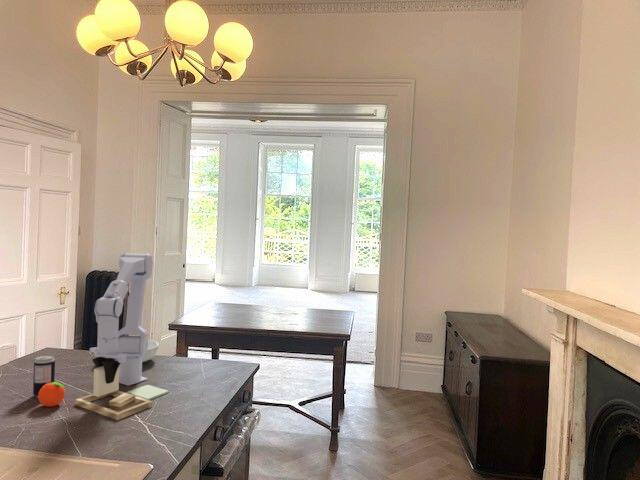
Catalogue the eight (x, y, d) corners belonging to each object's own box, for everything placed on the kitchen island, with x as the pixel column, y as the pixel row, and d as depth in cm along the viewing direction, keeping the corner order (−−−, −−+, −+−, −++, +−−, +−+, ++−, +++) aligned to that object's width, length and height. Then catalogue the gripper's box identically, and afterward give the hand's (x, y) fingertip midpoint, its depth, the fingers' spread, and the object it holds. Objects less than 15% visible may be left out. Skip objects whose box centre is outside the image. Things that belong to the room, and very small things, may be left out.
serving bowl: (156, 368, 175) (157, 350, 175) (95, 371, 169) (96, 353, 169) (159, 353, 195) (159, 337, 195) (104, 355, 189) (105, 338, 189)
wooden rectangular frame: (75, 404, 139) (75, 399, 139) (110, 392, 149) (111, 388, 149) (117, 420, 130) (117, 414, 130) (151, 406, 140) (152, 401, 140)
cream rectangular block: (93, 395, 139) (93, 368, 138) (114, 388, 145) (114, 362, 144) (98, 396, 137) (98, 370, 137) (118, 389, 144) (119, 364, 143)
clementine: (73, 402, 141) (73, 379, 141) (58, 411, 134) (59, 387, 134) (47, 400, 141) (48, 377, 141) (32, 409, 135) (32, 385, 134)
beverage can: (58, 394, 147) (59, 356, 146) (41, 400, 141) (41, 361, 141) (46, 390, 149) (47, 353, 149) (28, 396, 144) (29, 358, 143)
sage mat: (126, 393, 149) (126, 391, 149) (147, 386, 157) (147, 384, 157) (147, 400, 144) (147, 398, 144) (168, 392, 152) (168, 390, 152)
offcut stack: (108, 413, 134) (108, 401, 134) (124, 404, 141) (124, 393, 141) (120, 415, 133) (120, 403, 133) (135, 406, 140) (136, 394, 140)
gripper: (80, 335, 141) (79, 380, 141) (111, 343, 134) (110, 390, 134) (101, 331, 147) (100, 374, 147) (132, 338, 140) (131, 383, 140)
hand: (106, 381), depth 141 cm, fingers closed on cream rectangular block, 2 cm apart
